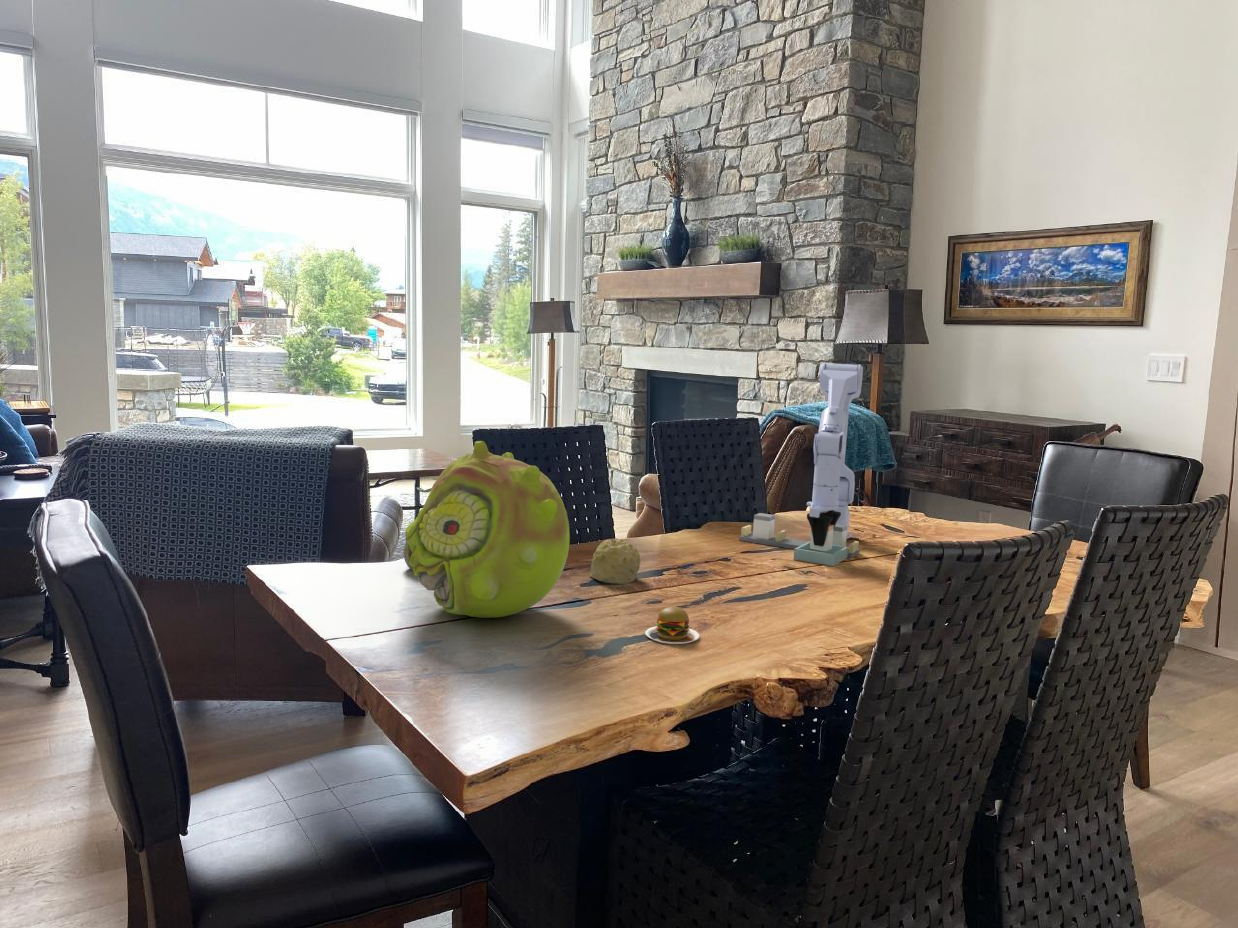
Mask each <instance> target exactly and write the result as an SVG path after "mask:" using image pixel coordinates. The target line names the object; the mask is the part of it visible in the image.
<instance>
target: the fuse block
mask: <svg viewBox="0 0 1238 928" xmlns="http://www.w3.org/2000/svg"><path fill="white" fill-rule="evenodd" d="M752 527H753V526H752V524H751V525H750V524H748V525H745V526H742V527H741V531H740V534H741V535H739V536H738V541H741V542H746V543H754V544H761V545H764V546H766V545H767V546H770V547H771V546H773V547H778V548H785V549H789V550H791V549H792V550H794V549H795V548H797V547H799V546H801V545H803V544H805V543H807V542H809V540H801V539H796V538H790V537H786V533H787V530H783V529H782V530H780V531H777V532H776V533H775V535H774V537H773V538H771V539H768V540H767V539H761V538H755V537H753V532H752ZM859 544H860V543H859V541H857V540H854V541H853V542H851V543H850V544H849V546H847V547H848V556H847V558H846V559H853V558H854V557H856V556H858V555H859V554H860V553H861V549H860V548H859Z"/></svg>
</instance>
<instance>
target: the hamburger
mask: <svg viewBox="0 0 1238 928" xmlns="http://www.w3.org/2000/svg"><path fill="white" fill-rule="evenodd" d="M689 623H690V618H689V614H688V612H687V611H686V610H685V609H683V608H682V607H678V606H667V607H665V608H663V609H661V610H660V612H658V615H657V620H656V623H655V624H654V625H655V626H652V627H649V628H648V629H646V630H645V632H644V634H645V636H646V637H647V638H649V639H651V640H653V641H655V642H658V643H662V644H667V645H668V644H669V645H684V644H689V643H692V642H694V641H697V640H699V639H700V633H699V632H698V631H696V630H694V629H692V628H690V625H689ZM654 632H657V635H658V636H659V638H661V639H664V641H663V640H659V639H656V638H653V637H652V636H651V635H652V633H654ZM688 634H690V635H692V636H693V639H692V640H690V641H682V642H675V641H681V640H684V639H685V638H686V637H687V636H688ZM665 640H668V641H665ZM671 641H674V642H671Z"/></svg>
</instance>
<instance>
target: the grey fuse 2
mask: <svg viewBox="0 0 1238 928" xmlns="http://www.w3.org/2000/svg"><path fill="white" fill-rule="evenodd" d="M846 537H847V525H841V524H836V525H835V527H834V530H833V541H832V545H837V546H844V547H847V546H846V545H847V539H846Z"/></svg>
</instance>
